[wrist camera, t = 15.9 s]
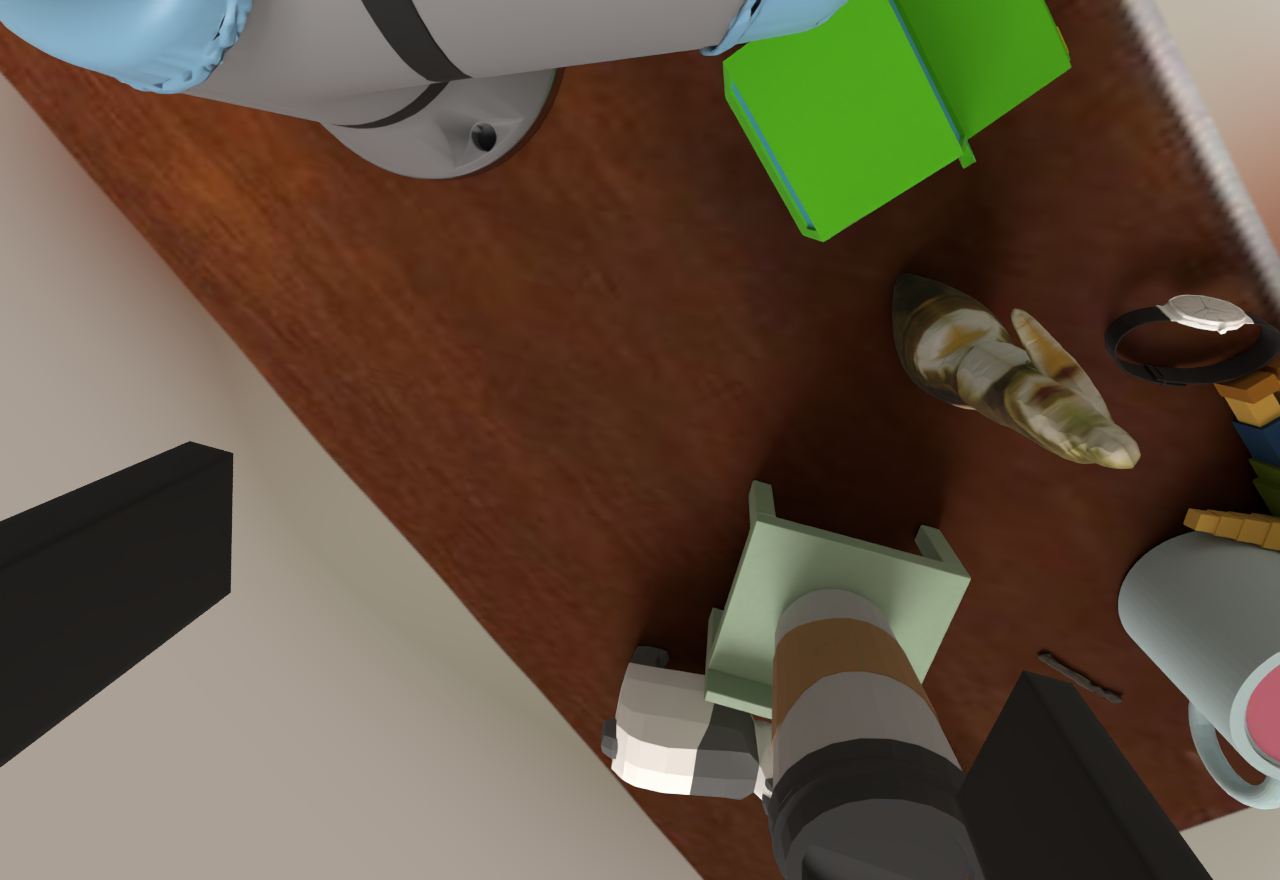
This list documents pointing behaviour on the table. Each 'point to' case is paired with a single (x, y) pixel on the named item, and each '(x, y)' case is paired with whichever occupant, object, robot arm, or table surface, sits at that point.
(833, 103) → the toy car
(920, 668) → the shelf
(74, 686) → the robot arm
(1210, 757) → the mug
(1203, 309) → the watch
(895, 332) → the olive-brown pointed piece
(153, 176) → the table surface
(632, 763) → the giant panda
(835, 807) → the coffee cup
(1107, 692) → the stick
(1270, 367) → the toy
